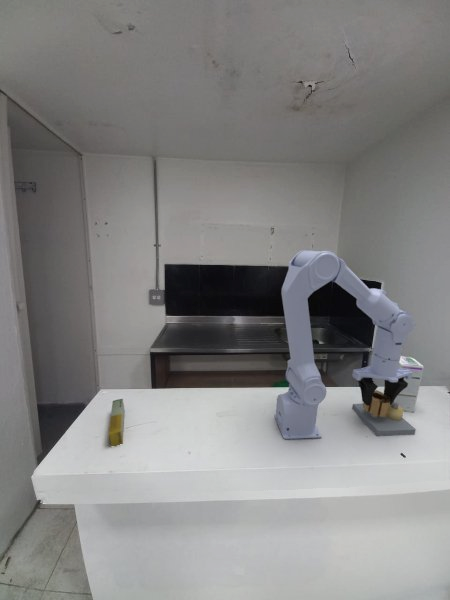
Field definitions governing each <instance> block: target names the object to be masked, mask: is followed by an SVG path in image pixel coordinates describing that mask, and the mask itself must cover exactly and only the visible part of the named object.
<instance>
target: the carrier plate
mask: <svg viewBox="0 0 450 600" xmlns="http://www.w3.org/2000/svg"><path fill="white" fill-rule="evenodd" d="M351 409H352V410H353V411H354V412H355V413H356V415H357V416H358V417H359V418H360V419H361V420H362V421H363V422H364V424H365V425H366V426H367V427H368V428H369V429H370V430H371V431H372V432H373V434H374V435H375V436H376V437H382V436H383V437H386V436H388V437H389V436H413V435H415V434H416V431H417V429H416V428H415V427H413V426H412V425H411V423H409V422H408V421H407V420H406V418H404V417H403V414H404V412H405V411H404V410H403V408H402V407H401V406H399V404H397V403H395V402H393V403H392V404H391V405H389V409H388V414H387V416H386V417H379V416H378V415H377V416H375V415H373V414H370V412H367V411H366V410H365V409H364V408H363V403H352V407H351Z"/></svg>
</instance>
